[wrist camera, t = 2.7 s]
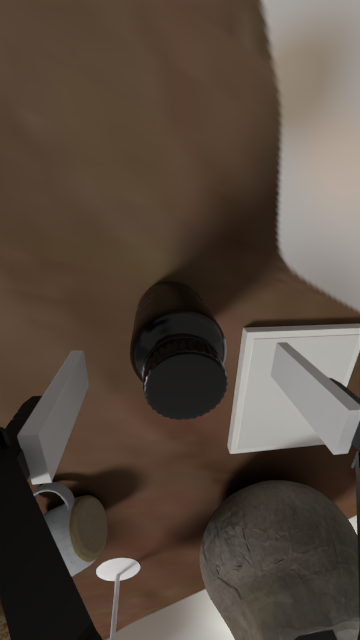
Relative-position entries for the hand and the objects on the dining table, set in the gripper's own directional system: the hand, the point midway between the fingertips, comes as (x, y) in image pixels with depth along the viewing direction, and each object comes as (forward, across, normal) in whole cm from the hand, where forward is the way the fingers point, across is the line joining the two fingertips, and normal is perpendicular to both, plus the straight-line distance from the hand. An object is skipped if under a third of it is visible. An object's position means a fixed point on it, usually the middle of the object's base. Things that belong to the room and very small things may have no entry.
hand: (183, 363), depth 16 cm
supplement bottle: (+9, 0, 0) cm, 9 cm away
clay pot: (+10, +14, -32) cm, 37 cm away
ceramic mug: (+9, -15, -28) cm, 33 cm away
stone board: (+9, +15, -10) cm, 20 cm away
